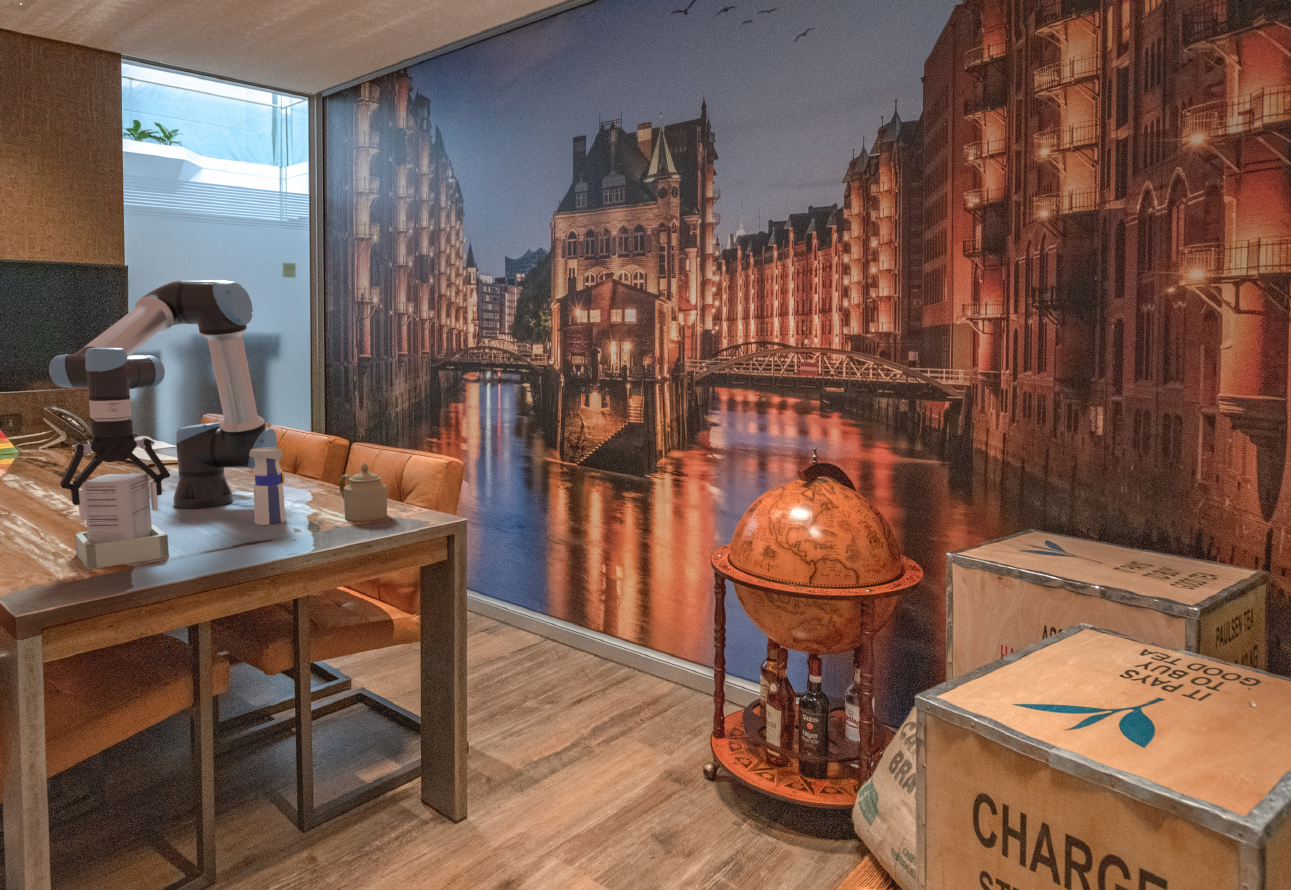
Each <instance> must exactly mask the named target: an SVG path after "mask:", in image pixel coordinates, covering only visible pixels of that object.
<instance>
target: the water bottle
mask: <svg viewBox="0 0 1291 890" xmlns="http://www.w3.org/2000/svg"><path fill="white" fill-rule="evenodd" d="M280 430H281V437H282V439H284V433H283V432H284V431H283V427H281V428H280ZM283 452H284V451H283V448H282V449H279V448H278V447H276V448H275V447H265V448H255V449H251V450H250V453H249V456H250V457H254V460H255V468H254V469H253V472H252V474H253V475H254V481H255V482H254V483H255V484H254V486H253V487H254V488H253V503H254V504H253V506H254V507H253V508H254V512H253V513H254V514H253V515H254V517H253V519H254V520H253V522H254V524H256V525H260V526H263V525H276V524H281V523H285V522H287V516H286V514H287V513H286V508H285V493H284V487H283V484H284V482H285V474H284V472H283V470H282V467H281V466H280V461H281V462H283V461H282V456H283Z"/></svg>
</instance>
